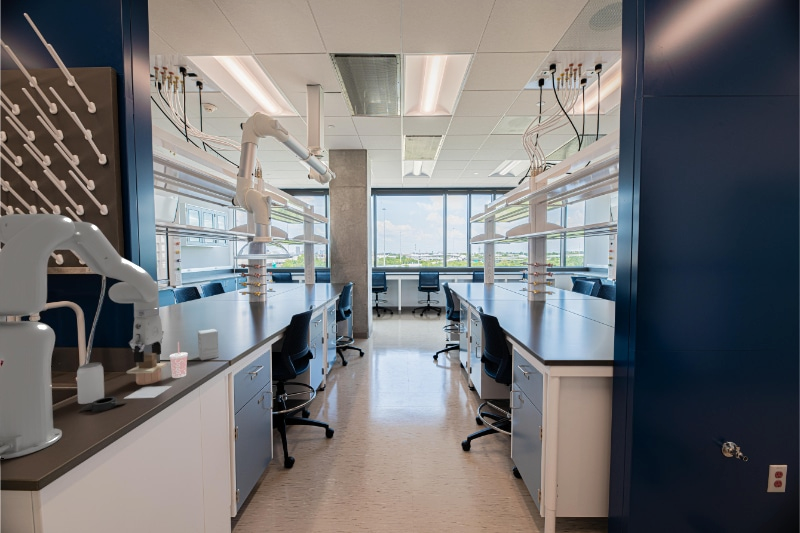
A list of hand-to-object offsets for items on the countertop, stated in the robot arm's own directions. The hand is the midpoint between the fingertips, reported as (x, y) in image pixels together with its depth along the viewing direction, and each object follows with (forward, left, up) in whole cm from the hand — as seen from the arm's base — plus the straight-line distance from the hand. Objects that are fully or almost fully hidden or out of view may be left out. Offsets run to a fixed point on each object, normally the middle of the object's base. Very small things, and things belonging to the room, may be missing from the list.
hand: (148, 358), depth 129 cm
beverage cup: (+5, -8, -9) cm, 13 cm away
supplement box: (+31, -7, -9) cm, 33 cm away
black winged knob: (-23, -1, -10) cm, 25 cm away
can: (-16, +8, -9) cm, 20 cm away
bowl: (0, 0, -9) cm, 9 cm away
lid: (0, 0, -4) cm, 4 cm away
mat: (-11, -7, -9) cm, 16 cm away
